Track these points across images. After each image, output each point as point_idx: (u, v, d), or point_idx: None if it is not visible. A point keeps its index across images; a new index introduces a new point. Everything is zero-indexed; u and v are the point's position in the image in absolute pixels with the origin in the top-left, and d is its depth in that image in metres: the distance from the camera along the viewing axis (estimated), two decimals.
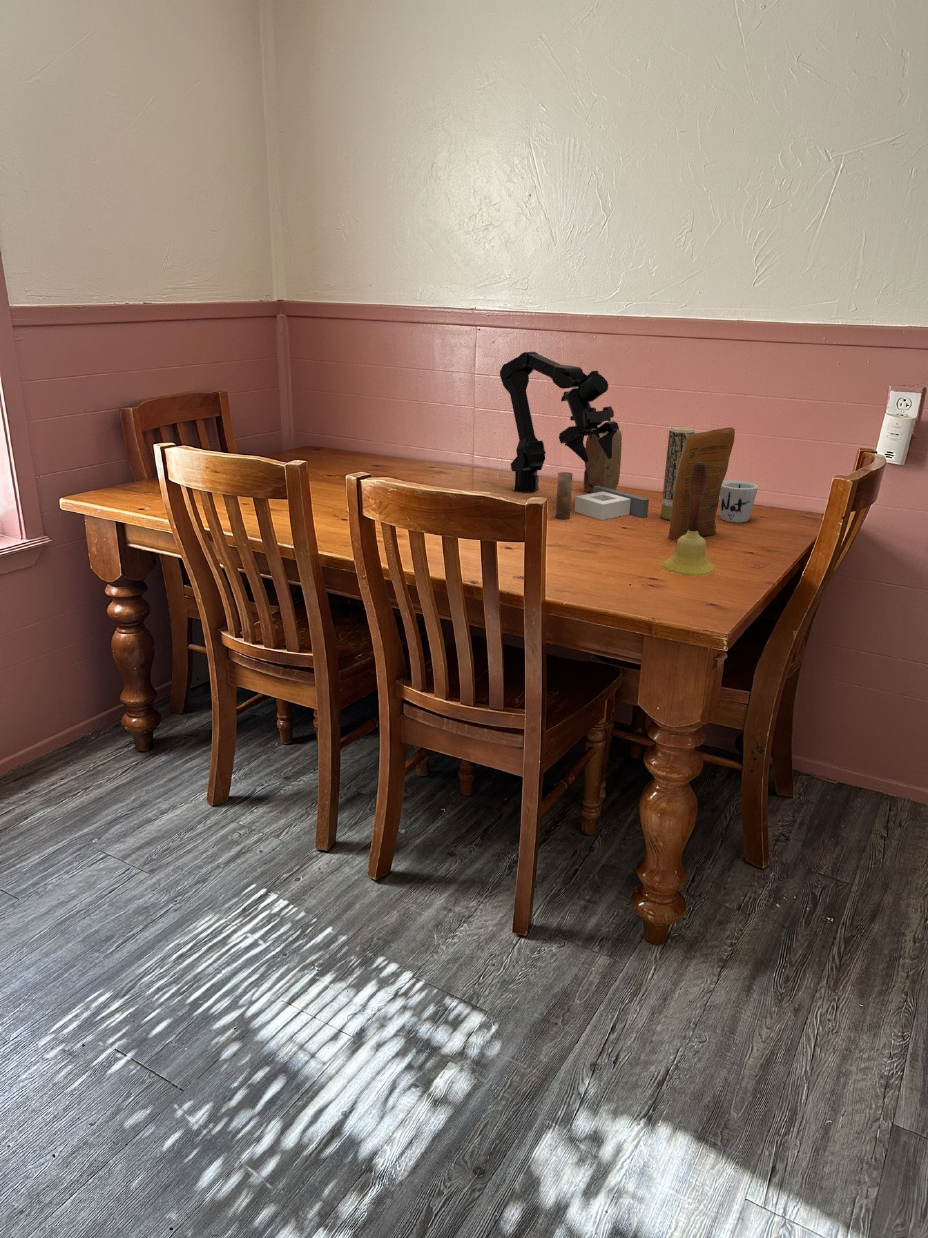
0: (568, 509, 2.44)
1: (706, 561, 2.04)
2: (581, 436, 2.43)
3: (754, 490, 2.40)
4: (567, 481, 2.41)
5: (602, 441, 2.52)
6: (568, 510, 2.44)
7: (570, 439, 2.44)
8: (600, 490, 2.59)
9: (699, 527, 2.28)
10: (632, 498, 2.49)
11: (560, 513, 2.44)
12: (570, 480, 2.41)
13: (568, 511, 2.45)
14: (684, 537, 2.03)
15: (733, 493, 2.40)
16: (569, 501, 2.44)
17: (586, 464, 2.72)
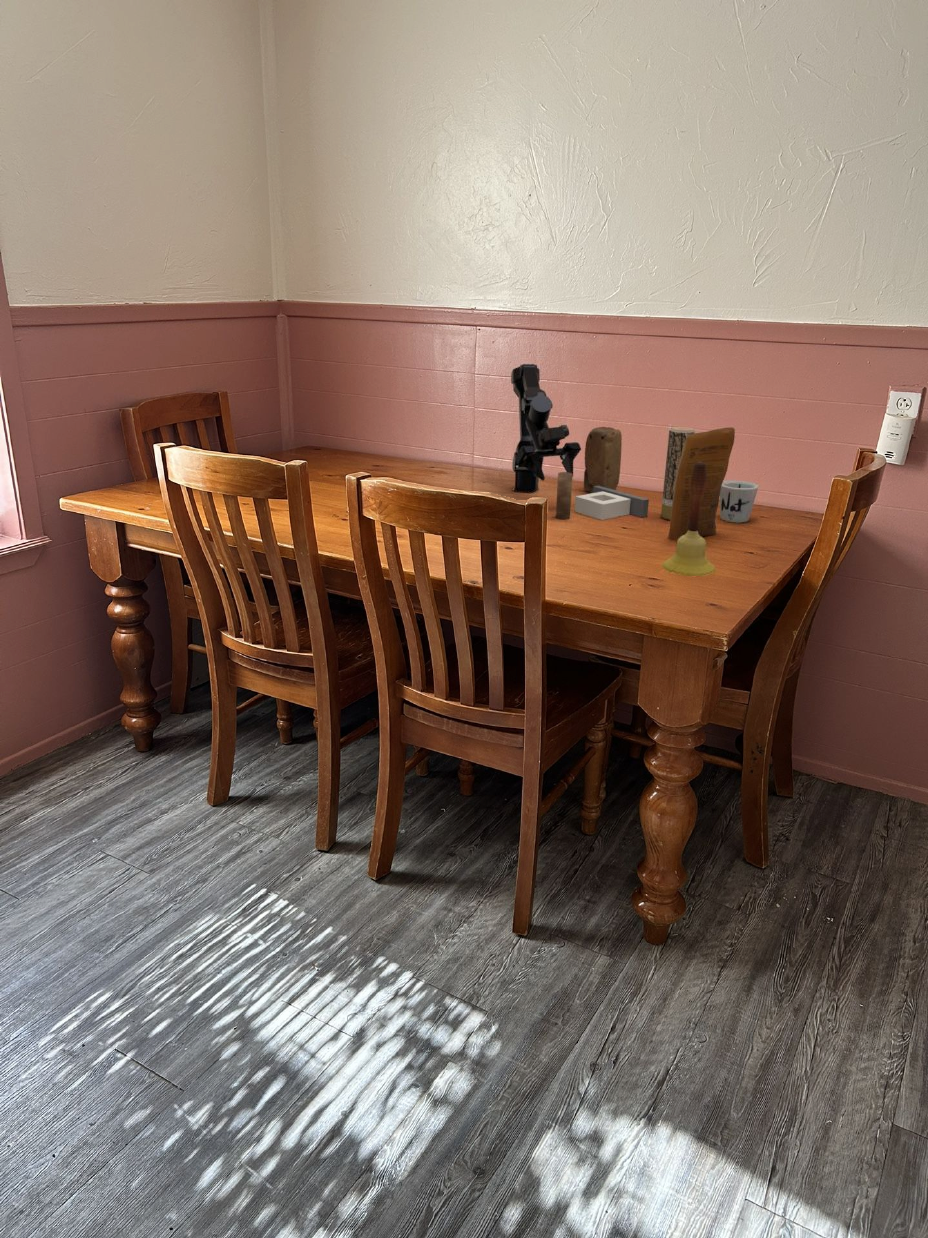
0: (568, 509, 2.44)
1: (706, 561, 2.04)
2: (534, 454, 2.43)
3: (754, 490, 2.40)
4: (567, 481, 2.41)
5: (564, 462, 2.51)
6: (568, 510, 2.44)
7: (525, 459, 2.45)
8: (600, 490, 2.59)
9: (699, 527, 2.28)
10: (632, 498, 2.49)
11: (560, 513, 2.44)
12: (570, 480, 2.41)
13: (568, 511, 2.45)
14: (684, 537, 2.03)
15: (733, 493, 2.40)
16: (569, 501, 2.44)
17: (586, 464, 2.72)
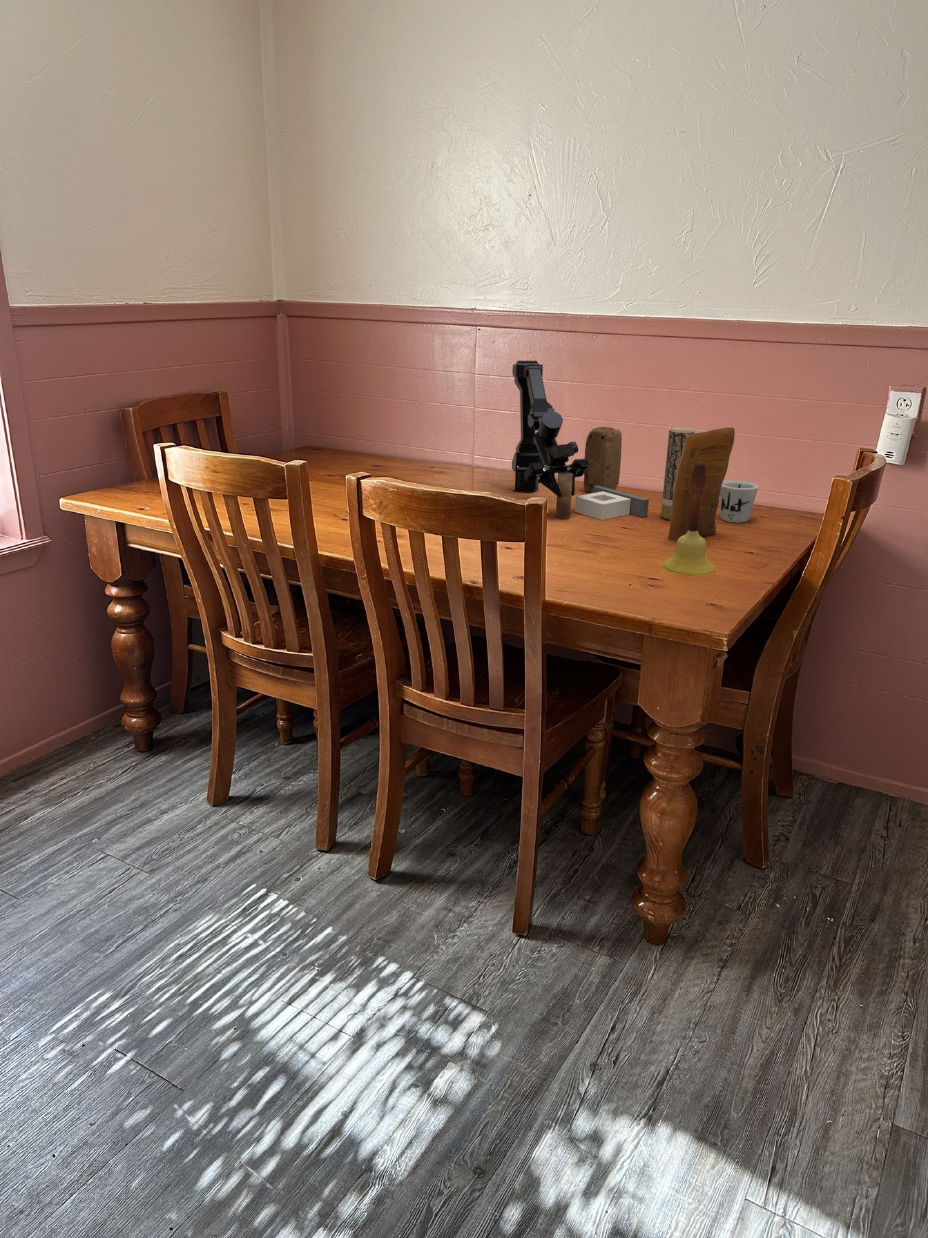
0: (568, 509, 2.44)
1: (706, 561, 2.04)
2: (551, 470, 2.41)
3: (754, 490, 2.40)
4: (567, 481, 2.41)
5: None
6: (568, 510, 2.44)
7: (541, 475, 2.43)
8: (600, 490, 2.59)
9: (699, 527, 2.28)
10: (632, 498, 2.49)
11: (560, 513, 2.44)
12: (570, 480, 2.41)
13: (568, 511, 2.45)
14: (684, 537, 2.03)
15: (733, 493, 2.40)
16: (569, 501, 2.44)
17: None
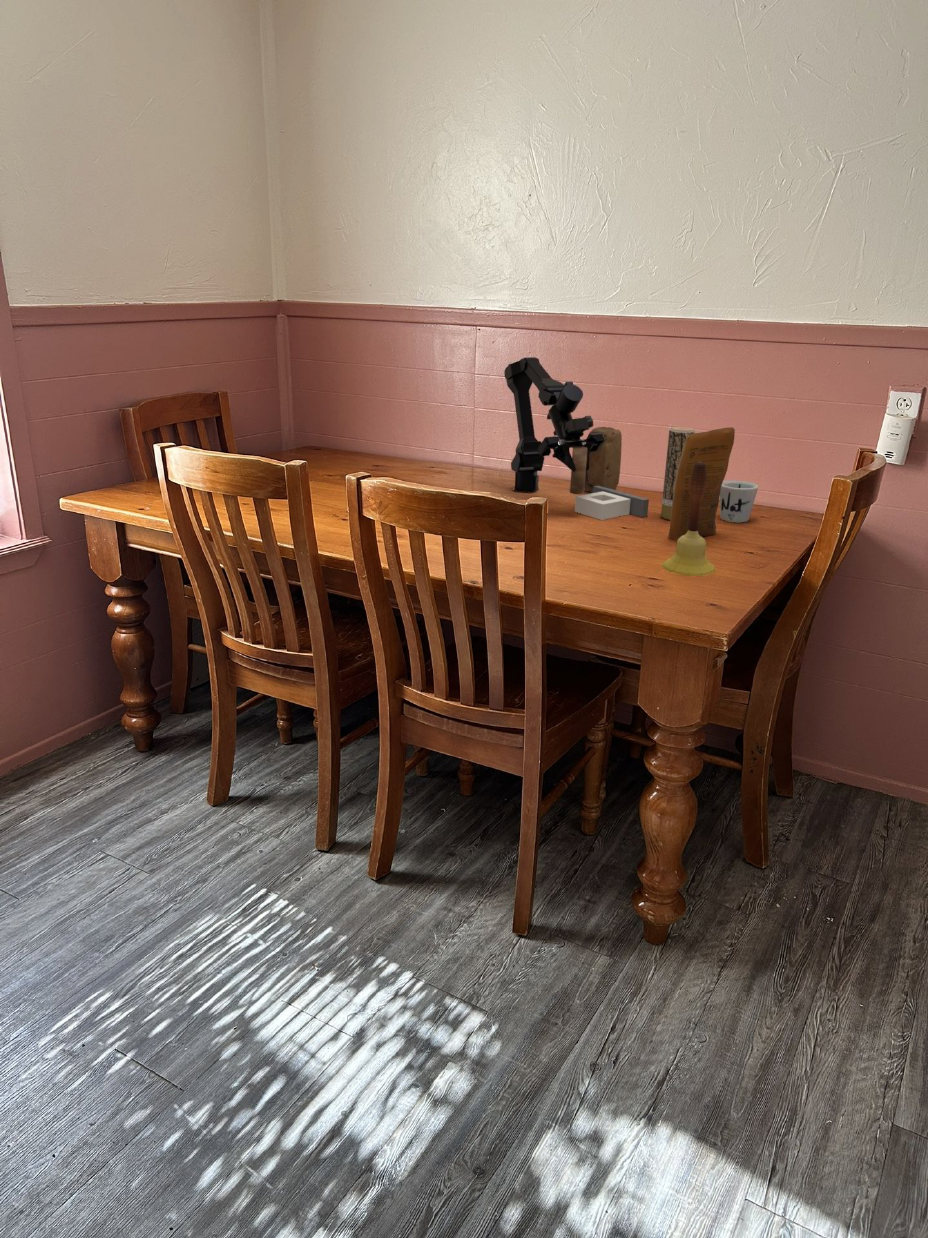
0: (582, 484, 2.44)
1: (706, 561, 2.04)
2: (565, 444, 2.41)
3: (754, 490, 2.40)
4: (582, 455, 2.40)
5: None
6: (582, 485, 2.44)
7: (556, 449, 2.42)
8: (600, 490, 2.59)
9: (699, 527, 2.28)
10: (632, 498, 2.49)
11: (574, 487, 2.44)
12: (585, 454, 2.41)
13: (582, 486, 2.44)
14: (684, 537, 2.03)
15: (733, 493, 2.40)
16: (583, 475, 2.43)
17: None
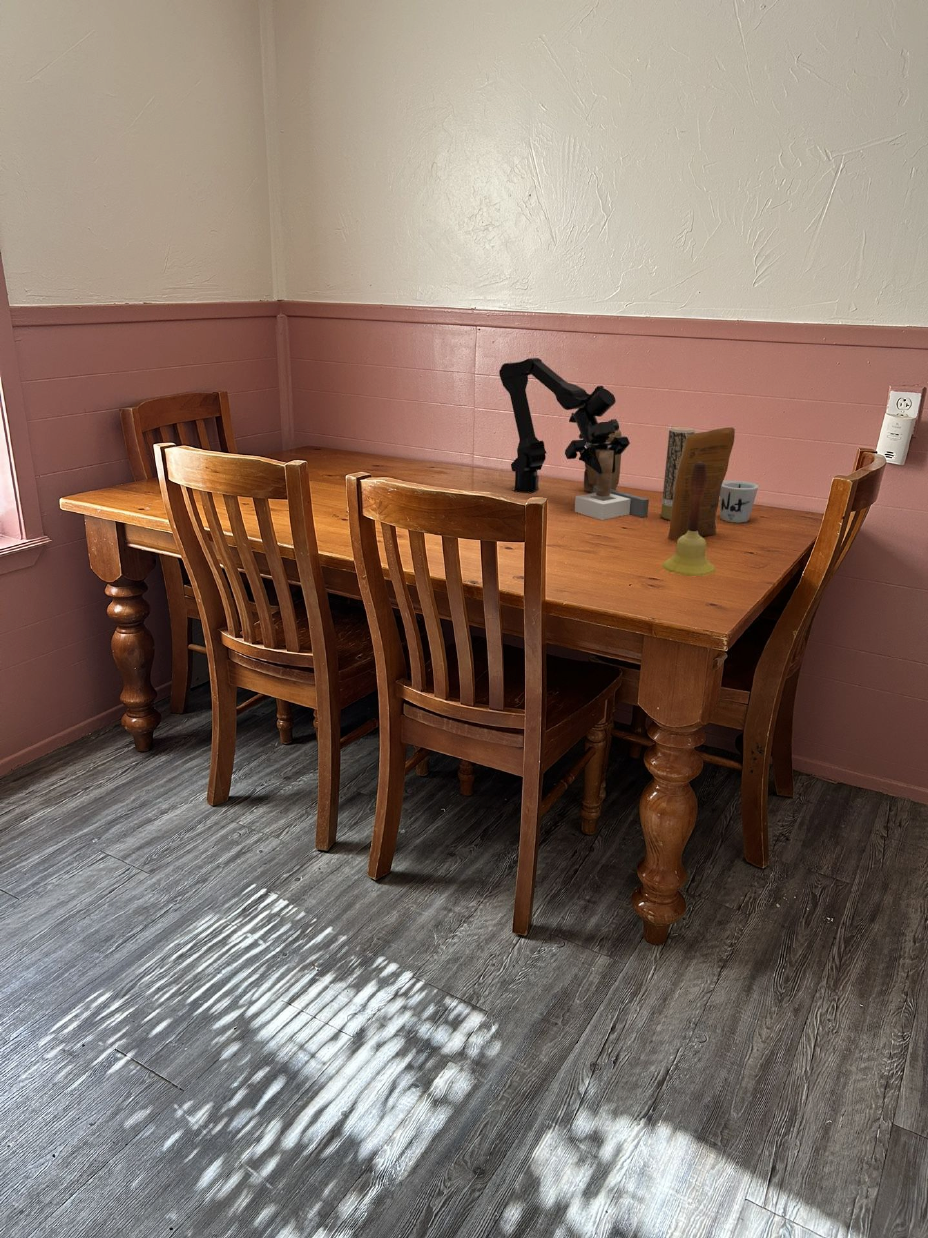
0: (609, 486, 2.48)
1: (706, 561, 2.04)
2: (592, 447, 2.45)
3: (754, 490, 2.40)
4: (608, 458, 2.44)
5: None
6: (609, 487, 2.48)
7: (582, 452, 2.46)
8: None
9: (699, 527, 2.28)
10: (632, 498, 2.49)
11: (601, 490, 2.48)
12: (611, 457, 2.45)
13: (609, 488, 2.48)
14: (684, 537, 2.03)
15: (733, 493, 2.40)
16: (610, 478, 2.47)
17: (586, 464, 2.72)
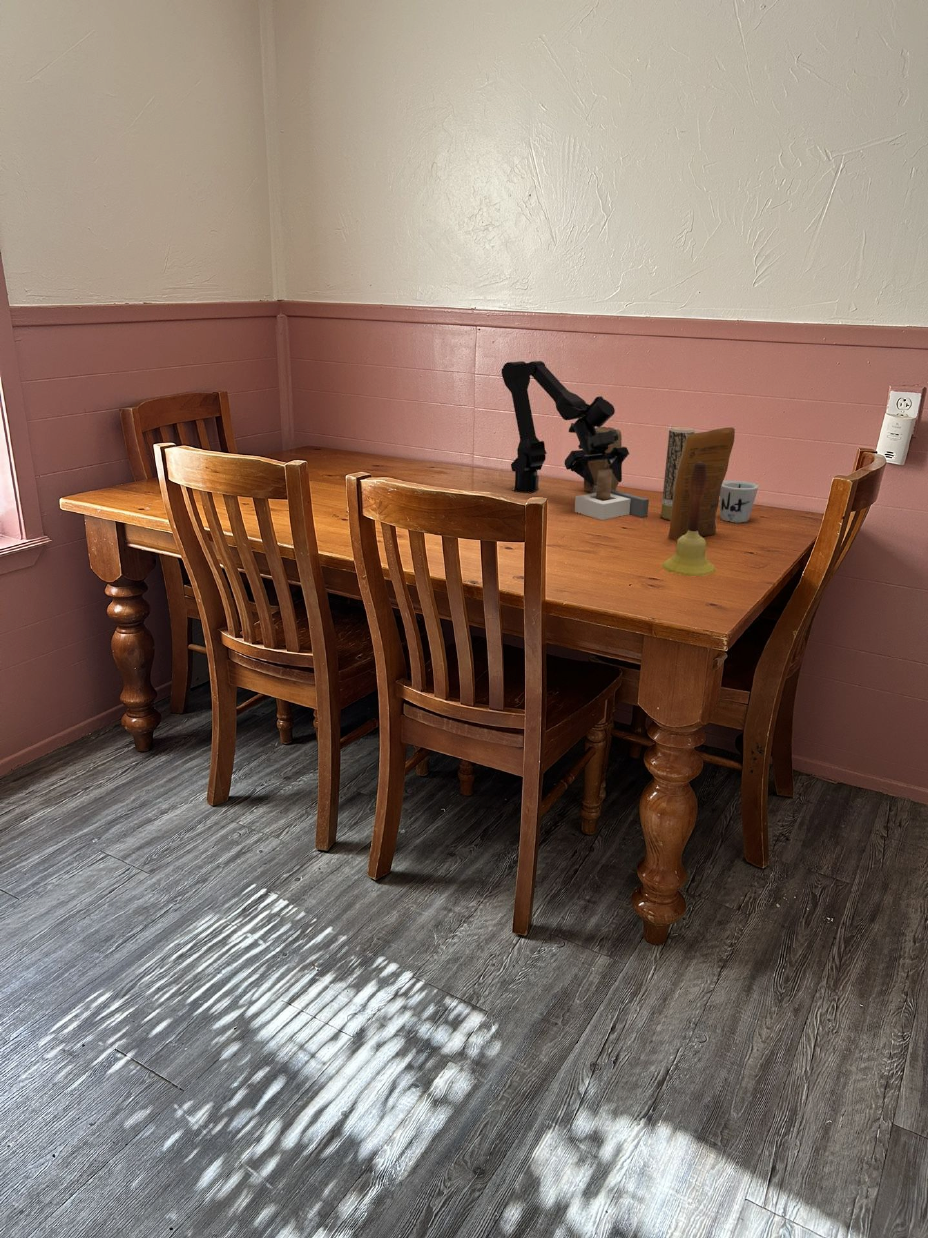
0: None
1: (706, 561, 2.04)
2: (584, 458, 2.45)
3: (754, 490, 2.40)
4: (607, 477, 2.46)
5: (612, 466, 2.52)
6: None
7: (574, 463, 2.46)
8: None
9: (699, 527, 2.28)
10: (632, 498, 2.49)
11: None
12: (610, 476, 2.47)
13: None
14: (684, 537, 2.03)
15: (733, 493, 2.40)
16: (608, 497, 2.49)
17: None
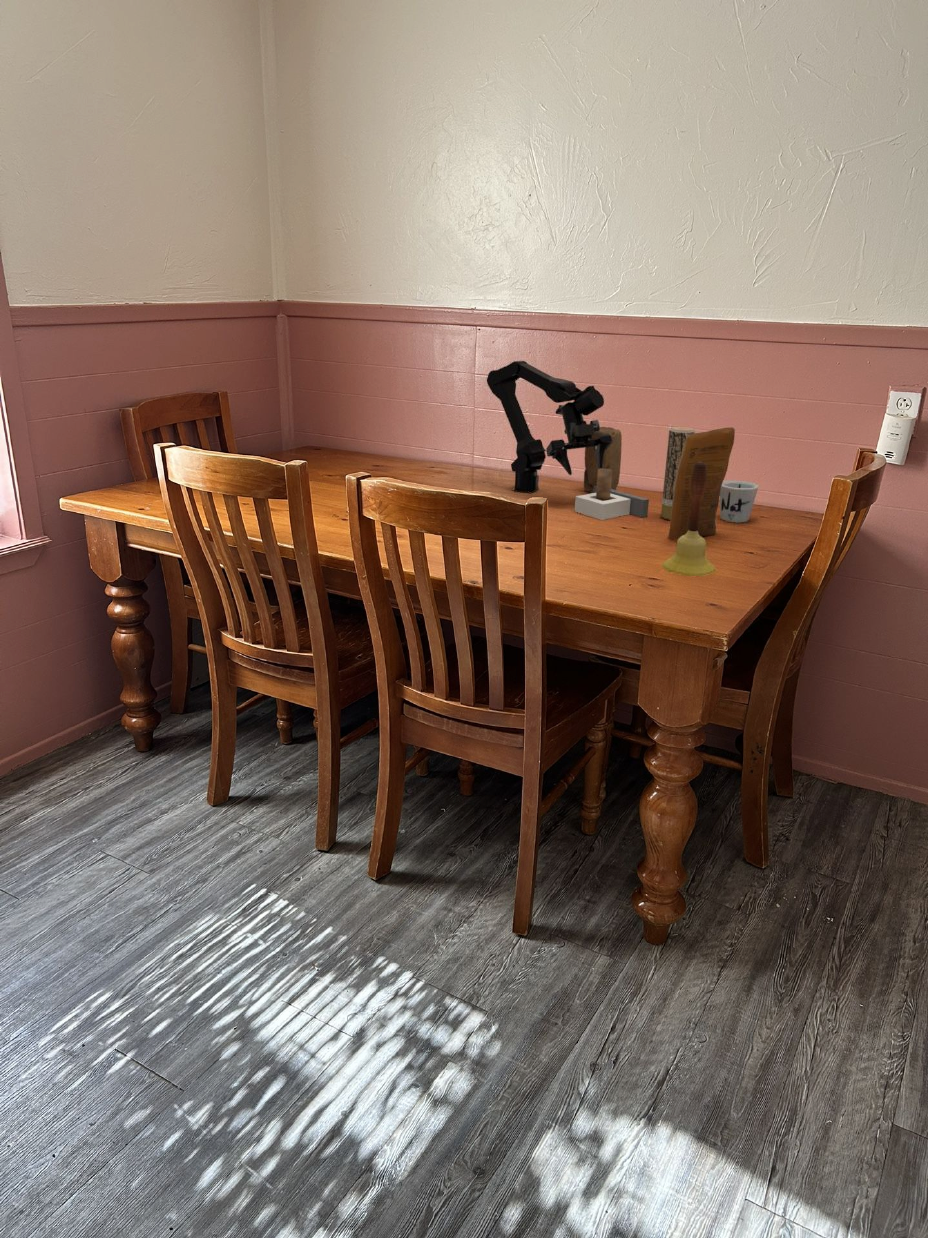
0: None
1: (706, 561, 2.04)
2: (563, 449, 2.50)
3: (754, 490, 2.40)
4: (607, 477, 2.46)
5: (596, 453, 2.56)
6: None
7: (554, 452, 2.52)
8: None
9: (699, 527, 2.28)
10: (632, 498, 2.49)
11: None
12: (610, 476, 2.47)
13: None
14: (684, 537, 2.03)
15: (733, 493, 2.40)
16: (608, 497, 2.49)
17: (586, 464, 2.72)
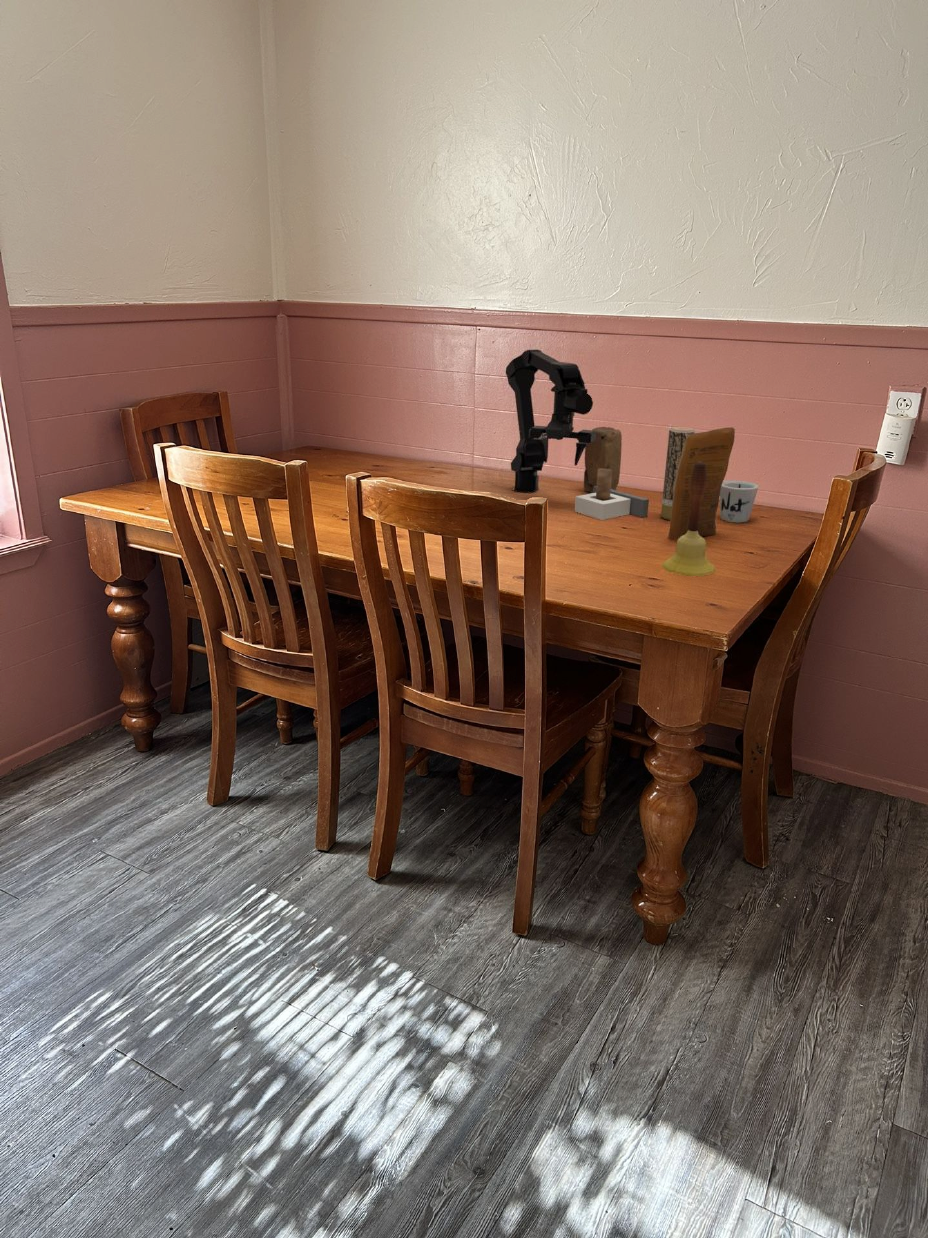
0: None
1: (706, 561, 2.04)
2: (537, 440, 2.54)
3: (754, 490, 2.40)
4: (607, 477, 2.46)
5: None
6: None
7: None
8: None
9: (699, 527, 2.28)
10: (632, 498, 2.49)
11: None
12: (610, 476, 2.47)
13: None
14: (684, 537, 2.03)
15: (733, 493, 2.40)
16: (608, 497, 2.49)
17: (586, 464, 2.72)
